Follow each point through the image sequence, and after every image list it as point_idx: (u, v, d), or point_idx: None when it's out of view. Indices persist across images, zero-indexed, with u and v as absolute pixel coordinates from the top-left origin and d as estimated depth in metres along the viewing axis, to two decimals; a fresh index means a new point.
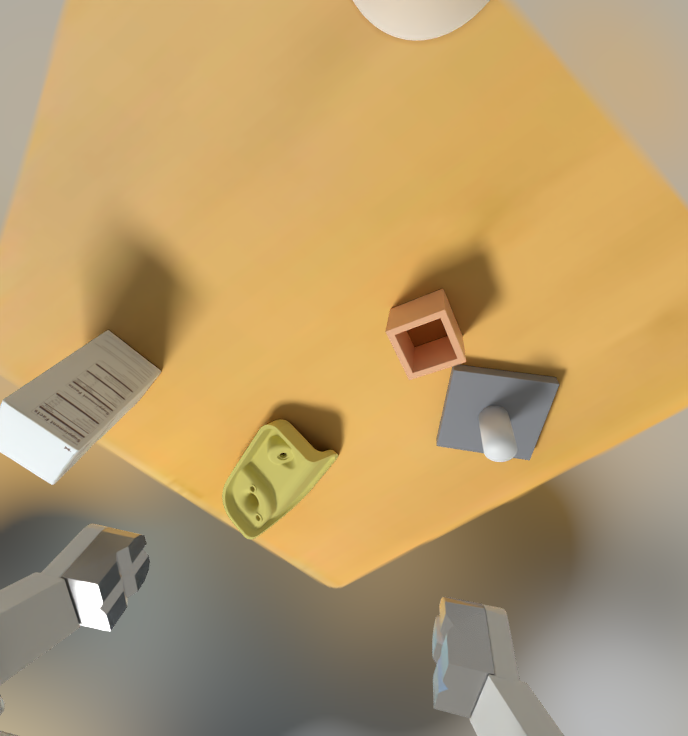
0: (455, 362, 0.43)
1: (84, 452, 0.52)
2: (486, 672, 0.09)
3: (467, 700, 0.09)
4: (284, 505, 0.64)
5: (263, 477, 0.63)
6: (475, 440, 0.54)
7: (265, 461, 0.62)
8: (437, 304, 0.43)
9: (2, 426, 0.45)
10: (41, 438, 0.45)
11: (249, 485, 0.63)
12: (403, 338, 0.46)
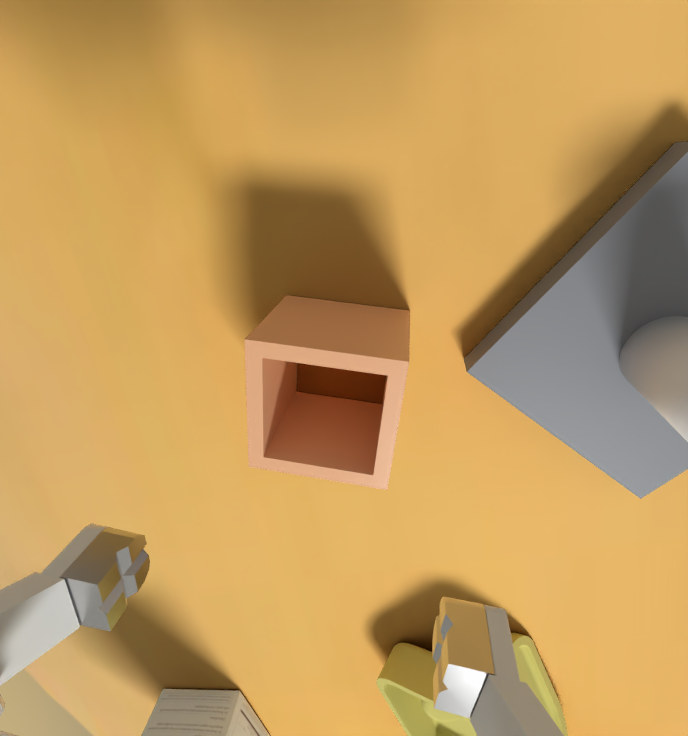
0: (396, 384, 0.16)
1: None
2: (486, 672, 0.09)
3: (467, 700, 0.09)
4: None
5: None
6: None
7: None
8: None
9: None
10: None
11: None
12: (320, 427, 0.21)
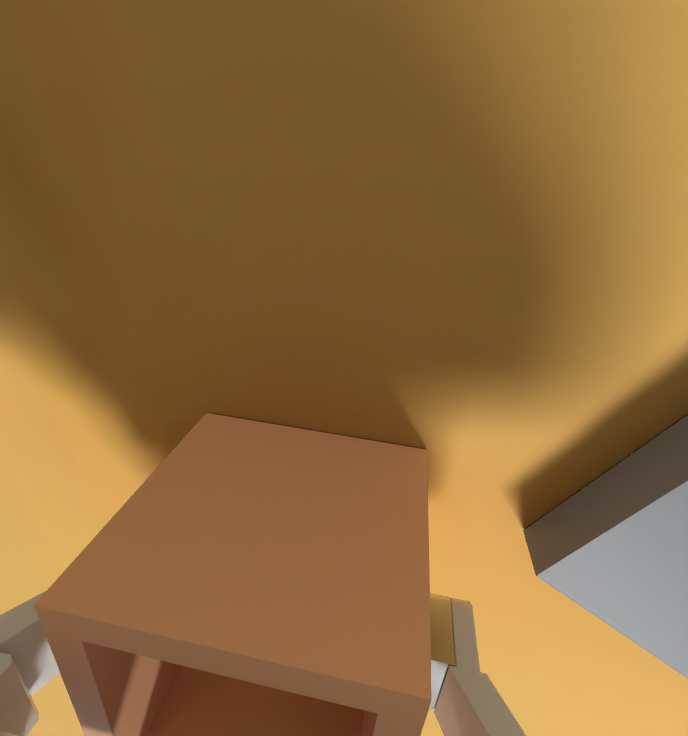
0: (398, 730, 0.06)
1: None
2: (447, 663, 0.09)
3: None
4: None
5: None
6: None
7: None
8: None
9: None
10: None
11: None
12: None
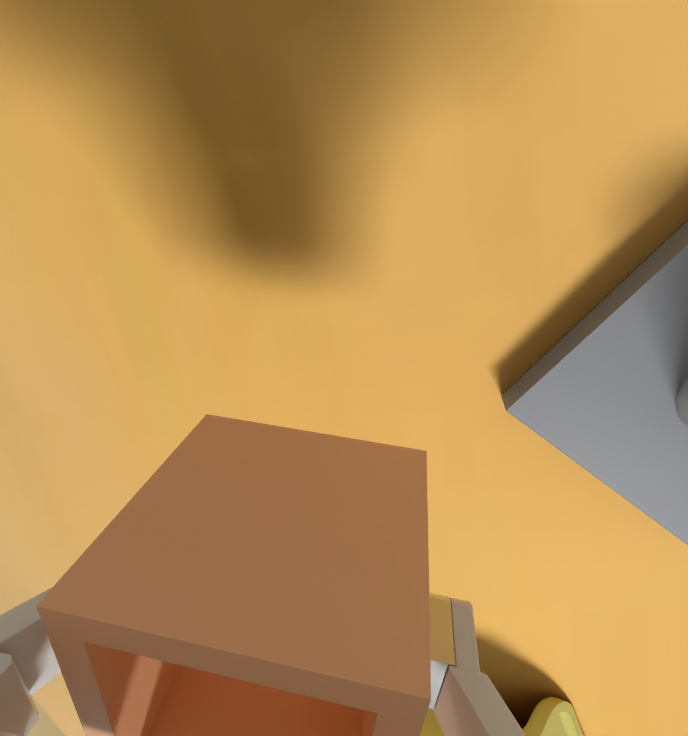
0: (398, 730, 0.06)
1: None
2: (447, 663, 0.09)
3: None
4: None
5: None
6: None
7: None
8: None
9: None
10: None
11: None
12: None
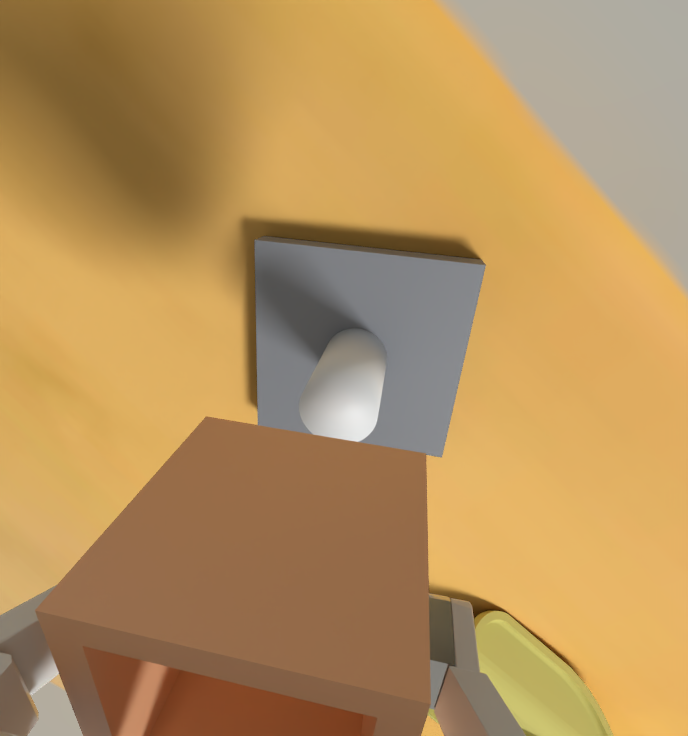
0: (398, 735, 0.06)
1: None
2: (447, 663, 0.09)
3: None
4: None
5: None
6: (423, 387, 0.24)
7: None
8: None
9: None
10: None
11: None
12: None
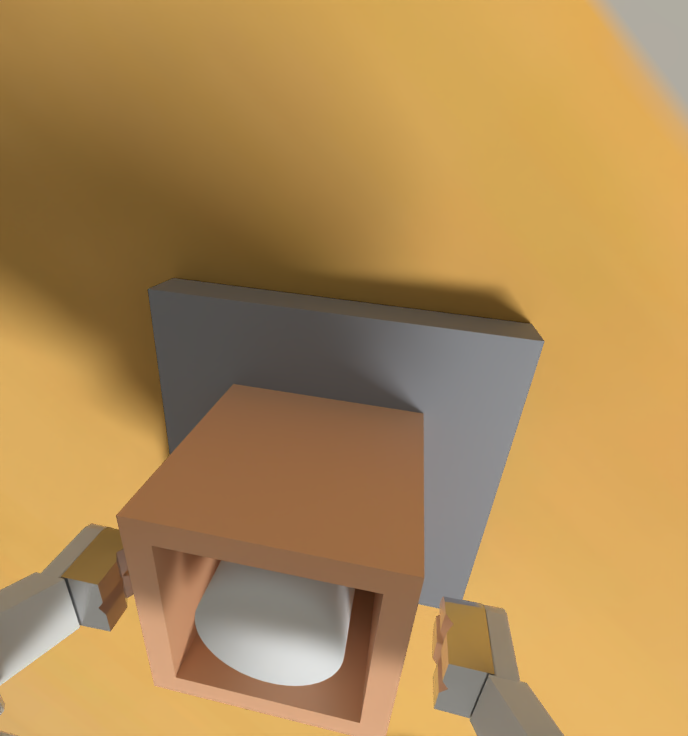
0: (399, 609, 0.08)
1: None
2: (486, 672, 0.09)
3: (467, 700, 0.09)
4: None
5: None
6: (430, 519, 0.15)
7: None
8: None
9: None
10: None
11: None
12: None
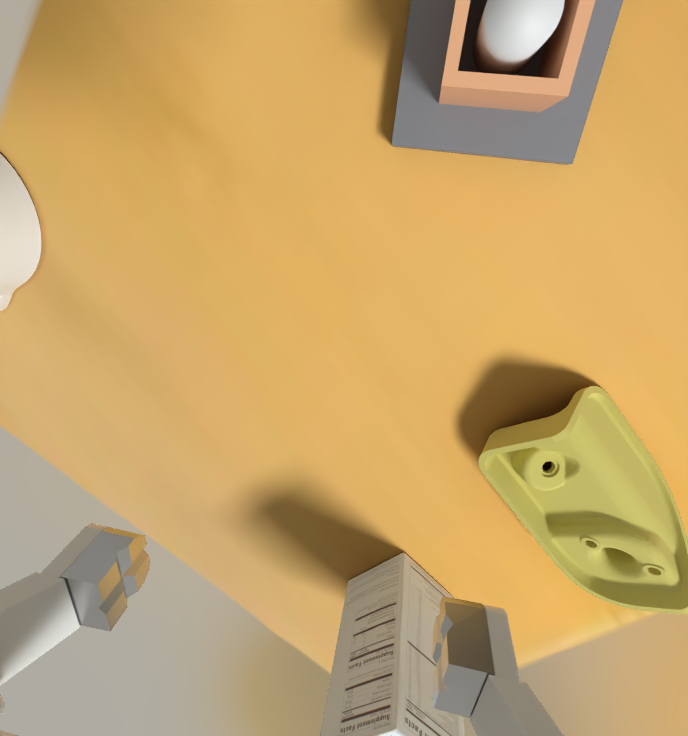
0: None
1: None
2: (486, 672, 0.09)
3: (467, 700, 0.09)
4: (658, 518, 0.35)
5: (581, 516, 0.37)
6: None
7: (552, 496, 0.38)
8: None
9: None
10: None
11: (582, 543, 0.37)
12: None
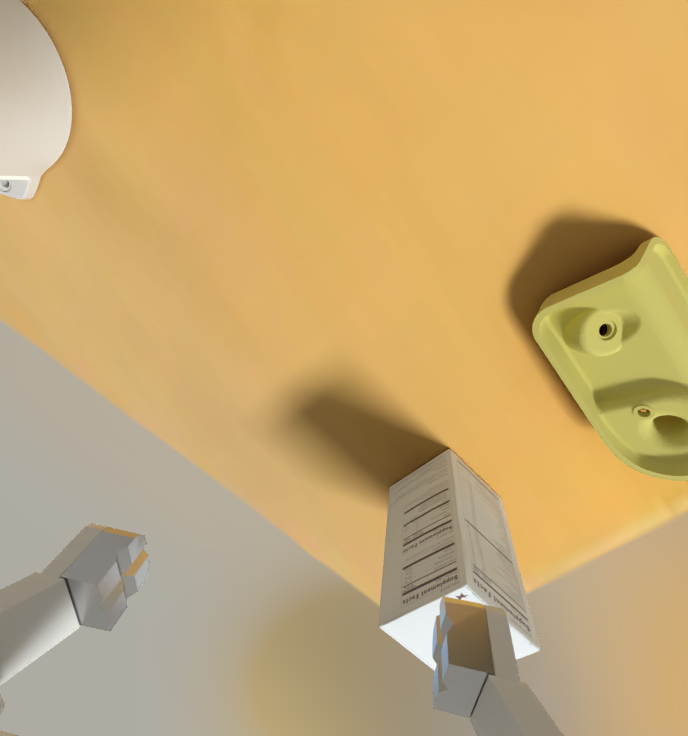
0: None
1: (509, 584, 0.35)
2: (486, 672, 0.09)
3: (467, 700, 0.09)
4: None
5: (633, 386, 0.36)
6: None
7: (604, 368, 0.37)
8: None
9: (422, 649, 0.34)
10: None
11: (634, 414, 0.36)
12: None
